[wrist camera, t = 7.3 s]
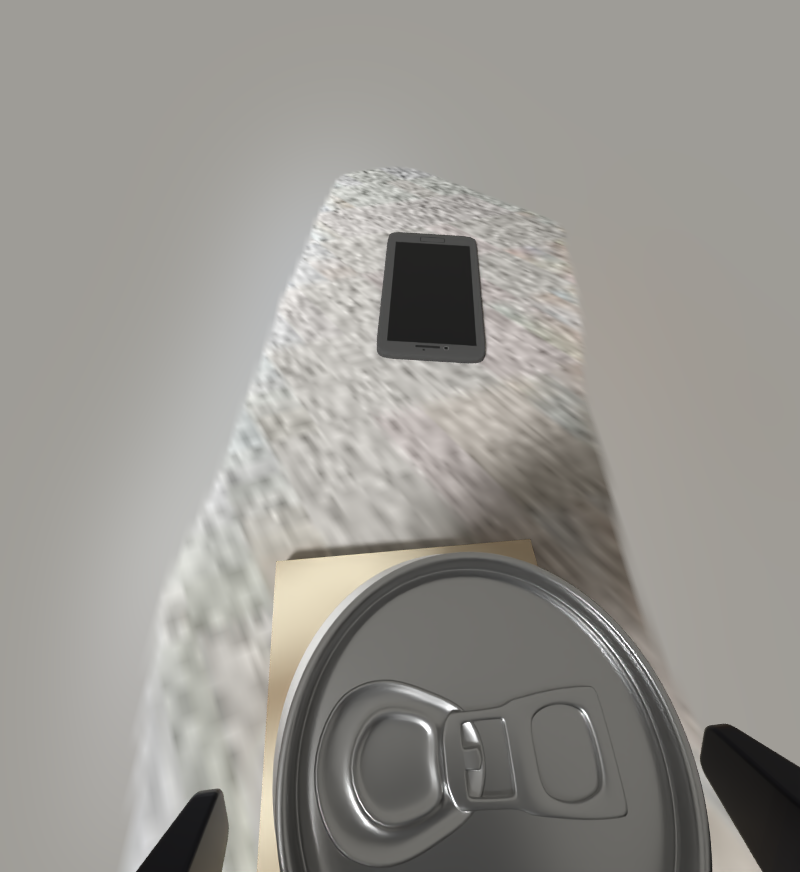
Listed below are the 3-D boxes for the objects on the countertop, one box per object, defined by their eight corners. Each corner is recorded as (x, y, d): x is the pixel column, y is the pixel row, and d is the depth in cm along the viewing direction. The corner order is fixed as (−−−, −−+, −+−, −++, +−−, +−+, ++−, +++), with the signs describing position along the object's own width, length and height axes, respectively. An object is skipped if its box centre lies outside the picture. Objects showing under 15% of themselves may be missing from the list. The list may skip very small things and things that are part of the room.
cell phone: (474, 244, 34) (476, 235, 33) (484, 367, 27) (487, 360, 26) (388, 238, 34) (388, 230, 33) (375, 361, 27) (375, 353, 26)
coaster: (613, 887, 14) (629, 901, 13) (259, 946, 13) (251, 964, 12) (524, 545, 20) (530, 538, 19) (281, 566, 19) (276, 561, 18)
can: (337, 622, 17) (268, 535, 7) (486, 613, 17) (634, 517, 7) (333, 830, 14) (184, 1284, 3) (519, 812, 14) (886, 1169, 4)
